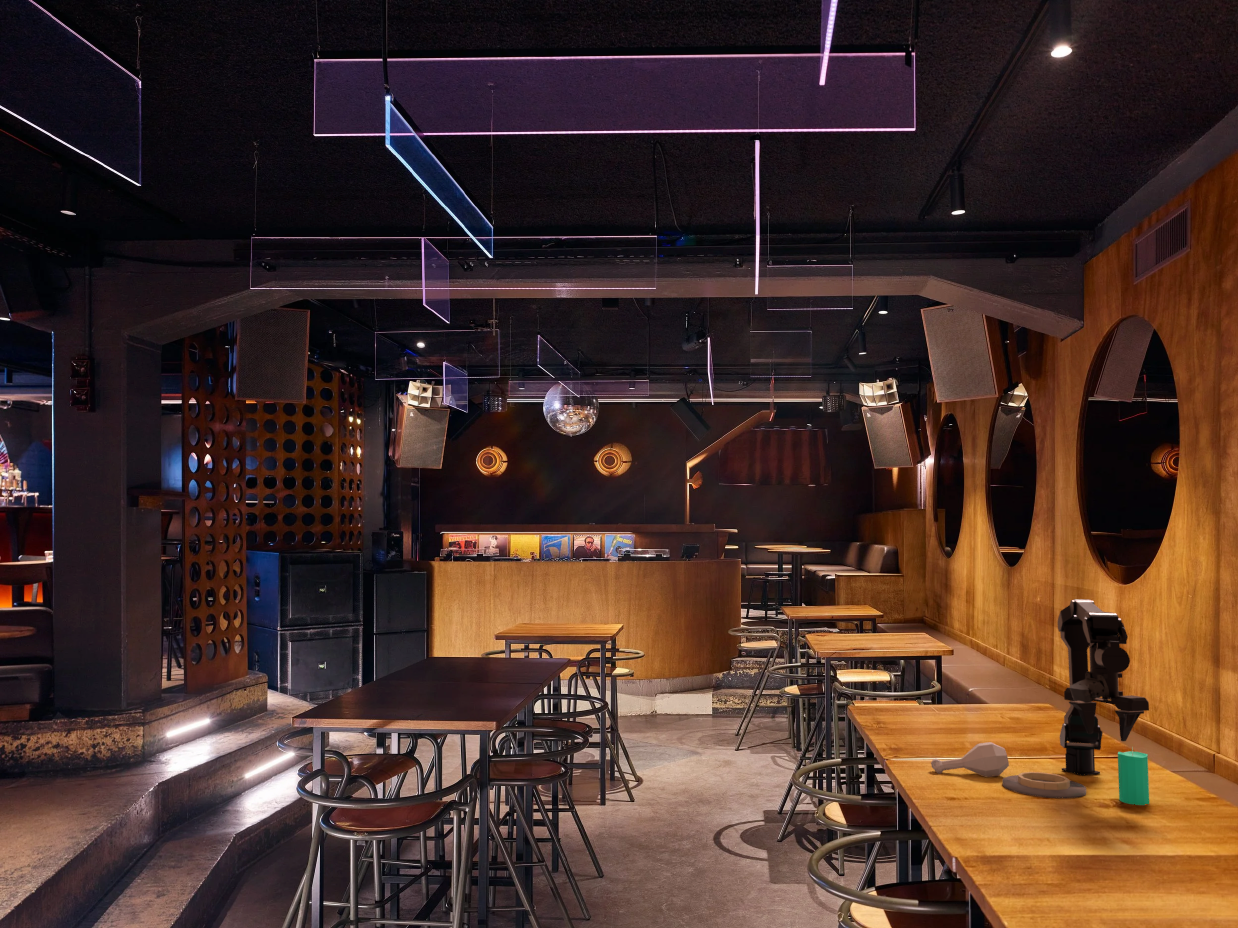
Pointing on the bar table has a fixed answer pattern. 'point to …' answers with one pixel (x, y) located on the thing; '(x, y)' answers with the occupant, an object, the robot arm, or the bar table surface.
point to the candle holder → (1044, 785)
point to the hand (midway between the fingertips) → (1106, 737)
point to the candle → (1133, 777)
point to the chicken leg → (977, 761)
